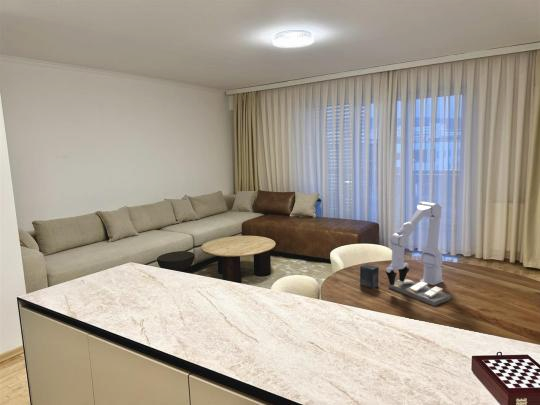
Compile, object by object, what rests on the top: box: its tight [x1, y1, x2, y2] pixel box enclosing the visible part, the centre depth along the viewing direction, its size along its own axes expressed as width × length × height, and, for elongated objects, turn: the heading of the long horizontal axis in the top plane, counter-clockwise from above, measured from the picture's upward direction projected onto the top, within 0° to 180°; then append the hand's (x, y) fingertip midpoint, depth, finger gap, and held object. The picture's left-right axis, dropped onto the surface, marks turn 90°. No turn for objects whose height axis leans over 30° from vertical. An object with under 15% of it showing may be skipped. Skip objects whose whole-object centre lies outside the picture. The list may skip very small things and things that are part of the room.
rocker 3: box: [424, 285, 444, 297], centre depth 171 cm, size 9×4×1 cm, turn 121°
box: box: [359, 263, 379, 289], centre depth 189 cm, size 8×6×11 cm
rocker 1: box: [396, 278, 415, 284], centre depth 185 cm, size 9×4×1 cm, turn 122°
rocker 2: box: [410, 281, 429, 292], centre depth 178 cm, size 9×4×1 cm, turn 121°
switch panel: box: [388, 281, 452, 307], centre depth 178 cm, size 13×26×2 cm, turn 32°
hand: (396, 283), depth 181 cm, fingers open, 7 cm apart
